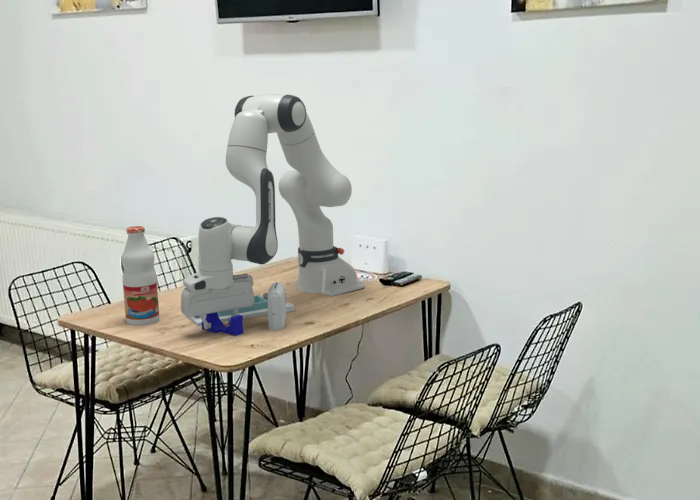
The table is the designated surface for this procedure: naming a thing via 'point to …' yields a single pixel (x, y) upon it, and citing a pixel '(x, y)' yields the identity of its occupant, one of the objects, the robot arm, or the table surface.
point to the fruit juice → (139, 279)
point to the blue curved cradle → (218, 326)
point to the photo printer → (276, 306)
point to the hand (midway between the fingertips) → (219, 326)
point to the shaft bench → (247, 310)
